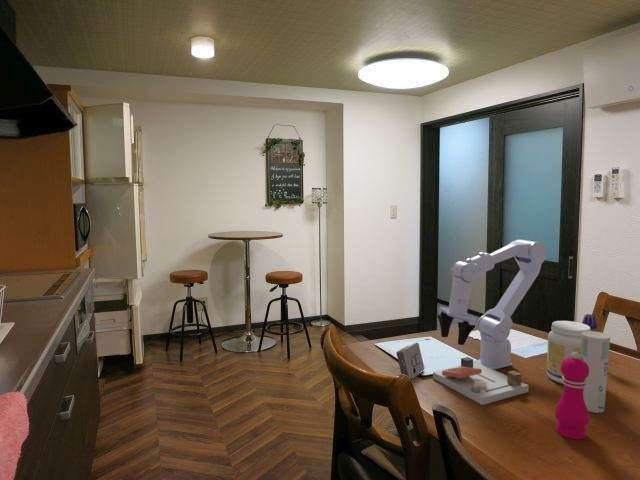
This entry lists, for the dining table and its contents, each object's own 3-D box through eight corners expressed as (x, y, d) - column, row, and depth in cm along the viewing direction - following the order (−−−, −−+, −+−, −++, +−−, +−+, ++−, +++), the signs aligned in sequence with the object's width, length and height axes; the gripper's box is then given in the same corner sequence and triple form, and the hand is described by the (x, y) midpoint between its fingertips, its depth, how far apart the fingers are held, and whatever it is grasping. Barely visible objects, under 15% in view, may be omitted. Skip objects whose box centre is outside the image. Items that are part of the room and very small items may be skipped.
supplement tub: (588, 374, 145) (592, 322, 143) (593, 389, 134) (596, 333, 132) (545, 368, 150) (548, 317, 148) (546, 382, 139) (549, 328, 137)
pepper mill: (547, 425, 114) (552, 347, 111) (575, 424, 114) (580, 346, 112) (565, 441, 106) (570, 358, 104) (595, 440, 107) (600, 357, 105)
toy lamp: (594, 367, 151) (597, 317, 149) (577, 364, 154) (581, 315, 152) (595, 363, 155) (599, 314, 153) (580, 360, 157) (583, 312, 156)
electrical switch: (411, 380, 141) (409, 350, 140) (396, 377, 144) (394, 348, 143) (425, 371, 148) (423, 342, 147) (410, 368, 151) (408, 341, 151)
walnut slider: (512, 381, 135) (513, 370, 135) (521, 384, 132) (521, 373, 132) (507, 382, 134) (507, 372, 134) (515, 386, 131) (515, 375, 131)
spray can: (604, 415, 119) (610, 340, 117) (576, 409, 122) (580, 335, 120) (605, 405, 124) (610, 333, 122) (577, 399, 128) (582, 329, 126)
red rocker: (462, 370, 142) (461, 366, 142) (481, 373, 135) (481, 368, 135) (442, 375, 138) (441, 371, 138) (461, 378, 131) (460, 373, 131)
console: (475, 368, 150) (476, 351, 150) (528, 391, 133) (529, 373, 132) (432, 378, 142) (433, 360, 142) (482, 405, 124) (483, 384, 124)
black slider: (467, 366, 146) (467, 356, 146) (473, 369, 144) (473, 359, 143) (460, 368, 145) (461, 358, 144) (466, 370, 143) (466, 360, 142)
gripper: (434, 293, 152) (428, 333, 152) (467, 304, 139) (459, 348, 140) (450, 294, 155) (444, 333, 156) (483, 305, 142) (476, 348, 143)
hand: (452, 340), depth 148 cm, fingers open, 7 cm apart
